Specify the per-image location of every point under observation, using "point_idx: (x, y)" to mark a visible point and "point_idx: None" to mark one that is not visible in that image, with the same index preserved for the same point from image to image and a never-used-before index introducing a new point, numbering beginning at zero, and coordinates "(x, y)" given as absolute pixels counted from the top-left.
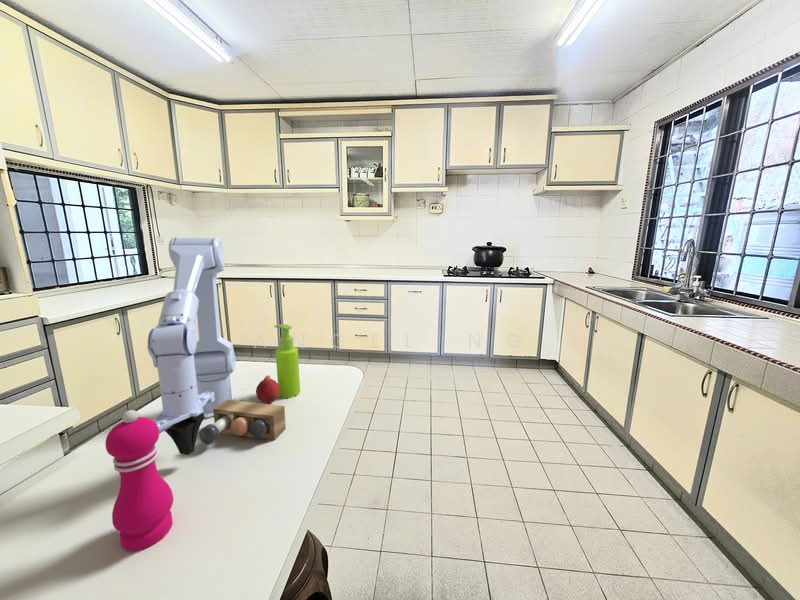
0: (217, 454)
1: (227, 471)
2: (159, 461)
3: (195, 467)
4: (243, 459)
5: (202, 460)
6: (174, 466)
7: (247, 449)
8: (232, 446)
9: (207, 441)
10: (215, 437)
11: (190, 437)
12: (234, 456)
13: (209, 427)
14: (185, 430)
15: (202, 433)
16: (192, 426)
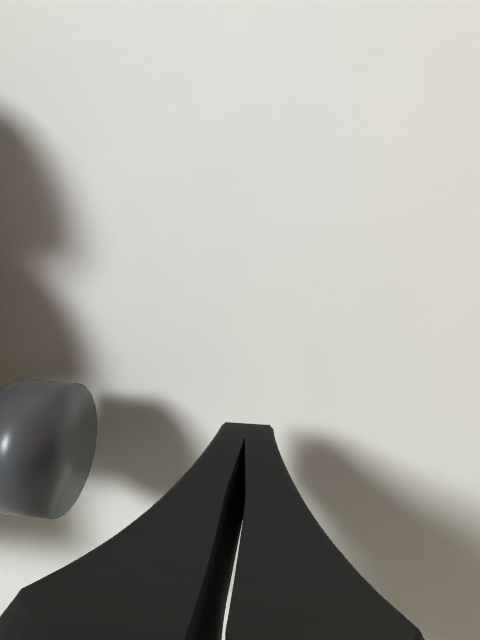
0: (132, 310)
1: (263, 126)
2: None
3: (262, 355)
4: (129, 96)
5: (200, 358)
6: None
7: (30, 143)
8: (39, 270)
9: (88, 419)
10: (51, 384)
11: (263, 507)
12: (119, 186)
13: (9, 473)
14: (416, 637)
15: (64, 485)
16: (260, 608)
